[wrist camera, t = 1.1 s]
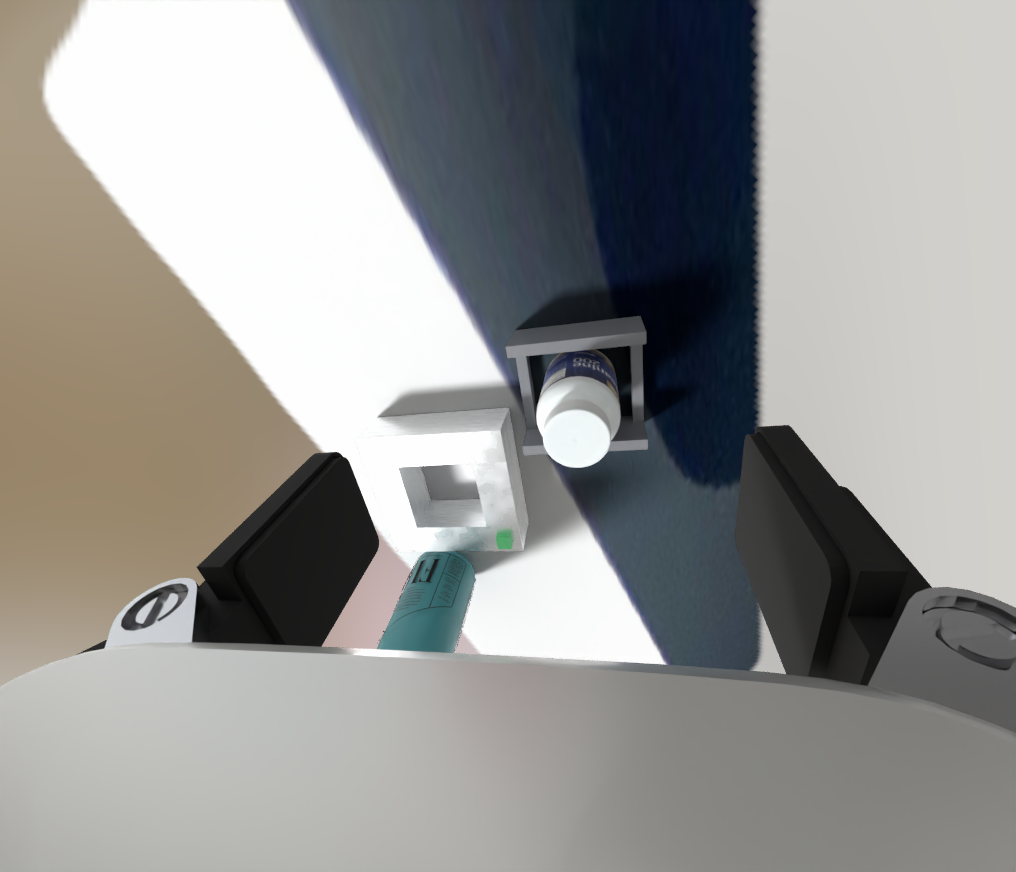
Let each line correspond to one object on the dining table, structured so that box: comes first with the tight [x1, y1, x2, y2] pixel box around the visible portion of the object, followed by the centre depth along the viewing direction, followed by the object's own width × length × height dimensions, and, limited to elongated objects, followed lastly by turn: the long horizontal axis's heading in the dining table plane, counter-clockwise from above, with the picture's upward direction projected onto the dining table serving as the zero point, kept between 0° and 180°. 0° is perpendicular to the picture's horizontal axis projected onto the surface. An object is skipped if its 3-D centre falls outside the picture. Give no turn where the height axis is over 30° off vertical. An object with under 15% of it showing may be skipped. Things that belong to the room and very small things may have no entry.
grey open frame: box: [506, 316, 648, 456], centre depth 33 cm, size 9×9×4 cm
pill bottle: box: [536, 349, 621, 468], centre depth 30 cm, size 5×5×10 cm
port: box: [356, 407, 529, 552], centre depth 39 cm, size 12×12×5 cm
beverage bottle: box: [377, 551, 476, 653], centre depth 38 cm, size 6×7×20 cm
